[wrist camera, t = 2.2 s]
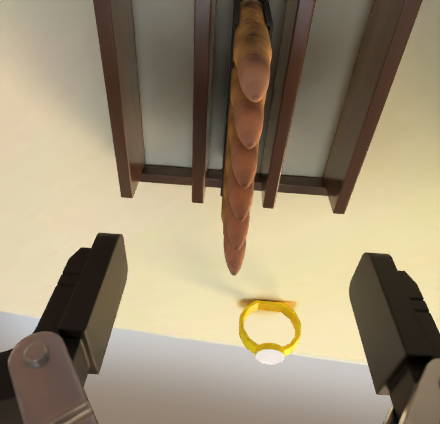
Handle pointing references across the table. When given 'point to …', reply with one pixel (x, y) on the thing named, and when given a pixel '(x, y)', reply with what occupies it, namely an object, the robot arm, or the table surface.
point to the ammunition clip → (244, 121)
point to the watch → (269, 351)
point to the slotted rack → (280, 106)
